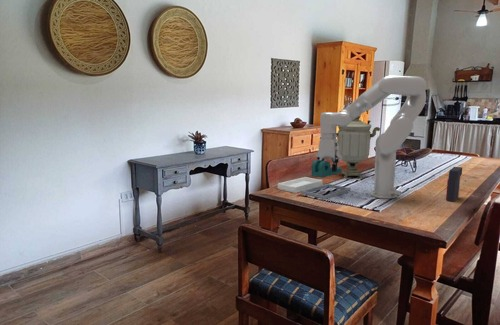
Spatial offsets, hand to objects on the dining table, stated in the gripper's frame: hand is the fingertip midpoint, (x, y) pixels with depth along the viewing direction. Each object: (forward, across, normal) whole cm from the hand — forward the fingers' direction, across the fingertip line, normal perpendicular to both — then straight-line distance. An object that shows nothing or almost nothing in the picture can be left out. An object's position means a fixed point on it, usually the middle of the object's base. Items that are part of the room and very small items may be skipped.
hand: (328, 170), depth 188 cm
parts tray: (+11, +18, +2) cm, 21 cm away
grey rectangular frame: (+12, +1, +1) cm, 12 cm away
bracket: (+2, 0, 0) cm, 2 cm away
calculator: (+14, -49, -32) cm, 60 cm away
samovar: (+12, +14, -45) cm, 49 cm away
